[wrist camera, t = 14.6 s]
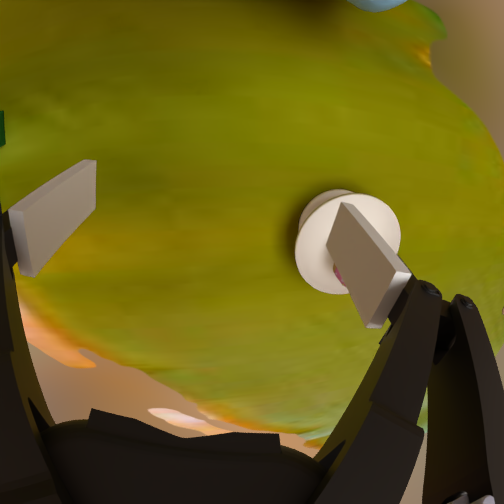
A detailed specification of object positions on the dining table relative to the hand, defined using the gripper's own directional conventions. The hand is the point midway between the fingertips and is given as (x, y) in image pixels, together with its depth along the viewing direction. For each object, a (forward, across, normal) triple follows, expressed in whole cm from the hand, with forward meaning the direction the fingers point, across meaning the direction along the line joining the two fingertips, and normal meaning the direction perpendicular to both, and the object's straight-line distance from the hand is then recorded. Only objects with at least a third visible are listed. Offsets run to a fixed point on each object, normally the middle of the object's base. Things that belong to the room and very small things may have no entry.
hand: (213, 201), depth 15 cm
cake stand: (+33, +22, -13) cm, 42 cm away
